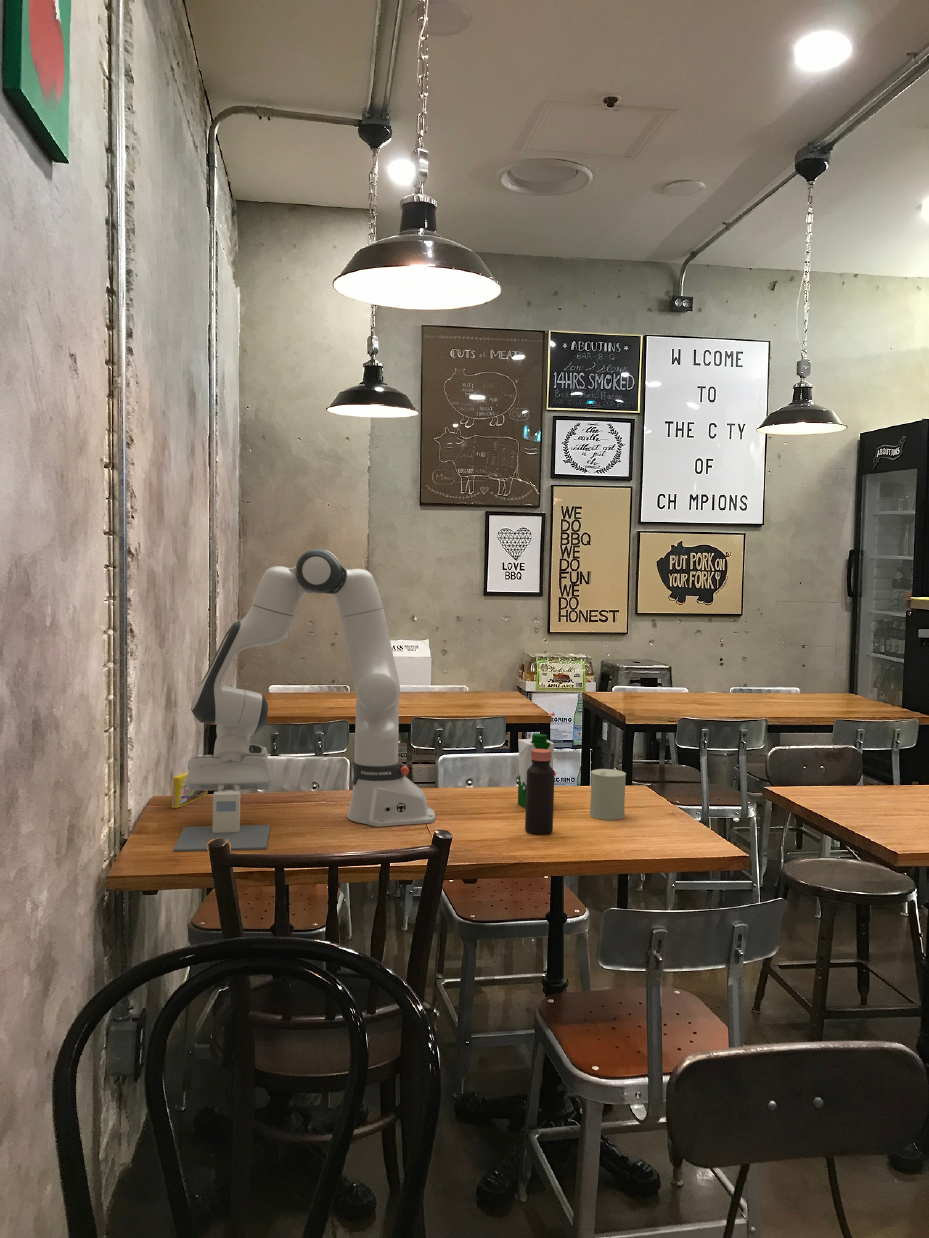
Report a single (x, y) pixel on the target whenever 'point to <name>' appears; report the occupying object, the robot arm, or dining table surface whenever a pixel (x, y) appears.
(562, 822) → the dining table surface
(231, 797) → the card deck
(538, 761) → the bottle
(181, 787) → the candy box
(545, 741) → the milk carton
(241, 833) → the mat
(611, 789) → the can
